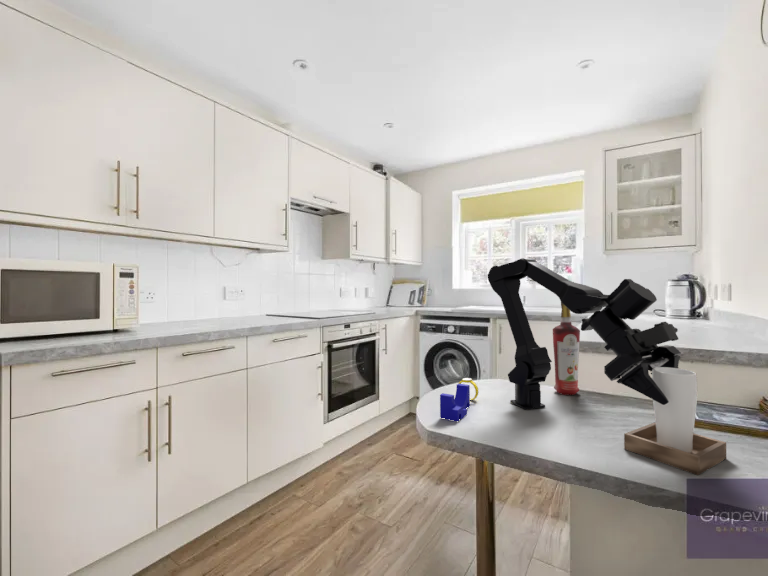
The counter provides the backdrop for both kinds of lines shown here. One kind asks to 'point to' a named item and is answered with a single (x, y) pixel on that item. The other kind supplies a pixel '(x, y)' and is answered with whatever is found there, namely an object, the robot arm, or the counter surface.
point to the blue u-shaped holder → (455, 403)
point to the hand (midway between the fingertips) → (678, 399)
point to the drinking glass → (676, 407)
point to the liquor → (566, 354)
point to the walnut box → (676, 450)
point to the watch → (471, 383)
